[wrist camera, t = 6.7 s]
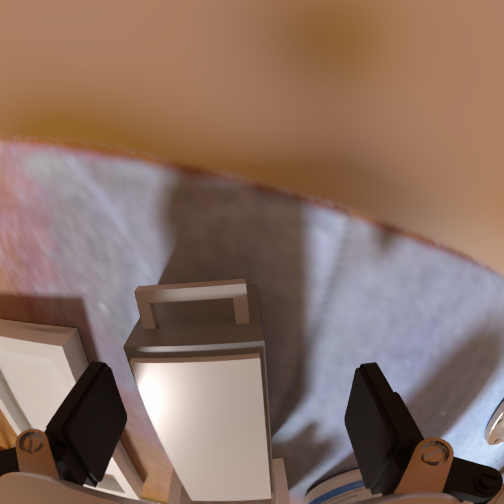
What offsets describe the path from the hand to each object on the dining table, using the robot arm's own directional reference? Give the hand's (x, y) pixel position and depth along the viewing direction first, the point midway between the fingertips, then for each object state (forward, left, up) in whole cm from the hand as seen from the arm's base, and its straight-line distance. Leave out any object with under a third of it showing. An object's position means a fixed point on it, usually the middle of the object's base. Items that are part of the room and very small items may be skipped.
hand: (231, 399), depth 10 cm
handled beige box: (+1, +4, -5) cm, 7 cm away
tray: (+14, +9, -5) cm, 17 cm away
